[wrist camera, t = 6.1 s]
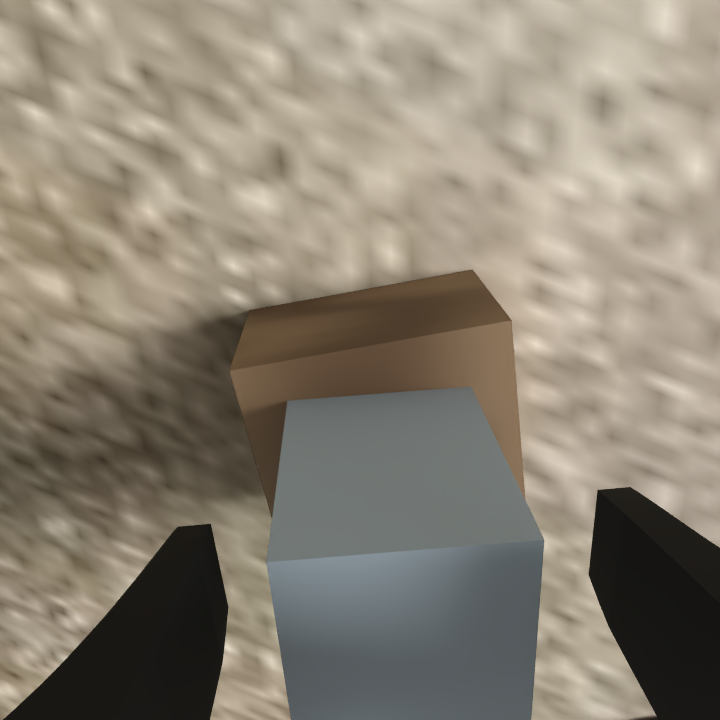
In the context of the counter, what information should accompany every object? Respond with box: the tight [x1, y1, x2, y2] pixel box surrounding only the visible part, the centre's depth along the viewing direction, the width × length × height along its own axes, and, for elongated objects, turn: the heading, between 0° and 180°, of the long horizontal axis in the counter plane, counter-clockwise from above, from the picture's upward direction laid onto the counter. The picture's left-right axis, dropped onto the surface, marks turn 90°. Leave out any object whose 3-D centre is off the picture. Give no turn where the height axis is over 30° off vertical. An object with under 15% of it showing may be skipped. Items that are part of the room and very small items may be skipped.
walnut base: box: [229, 270, 525, 517], centre depth 16 cm, size 6×6×4 cm
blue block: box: [266, 387, 544, 720], centre depth 12 cm, size 4×4×5 cm
